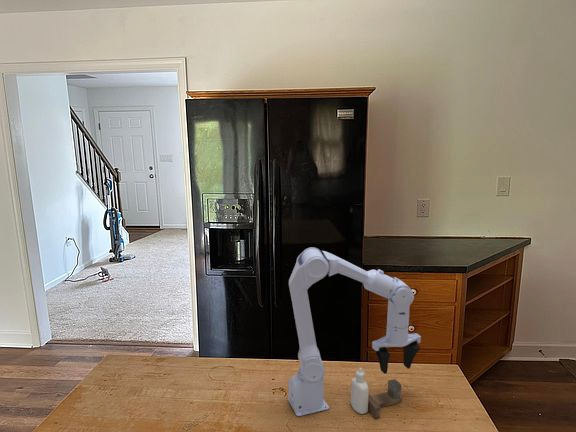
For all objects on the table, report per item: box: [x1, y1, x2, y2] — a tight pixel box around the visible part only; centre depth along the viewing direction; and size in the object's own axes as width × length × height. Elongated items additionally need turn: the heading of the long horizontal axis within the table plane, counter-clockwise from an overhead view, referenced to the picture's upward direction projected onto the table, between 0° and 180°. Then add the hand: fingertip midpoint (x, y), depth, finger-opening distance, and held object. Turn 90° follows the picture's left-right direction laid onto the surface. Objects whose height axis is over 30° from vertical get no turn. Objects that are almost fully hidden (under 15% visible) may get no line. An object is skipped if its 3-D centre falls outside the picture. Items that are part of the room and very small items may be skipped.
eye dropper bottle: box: [350, 367, 370, 415], centre depth 105 cm, size 4×6×12 cm
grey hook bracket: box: [368, 378, 403, 419], centre depth 108 cm, size 11×11×5 cm
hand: (395, 369), depth 109 cm, fingers open, 7 cm apart
